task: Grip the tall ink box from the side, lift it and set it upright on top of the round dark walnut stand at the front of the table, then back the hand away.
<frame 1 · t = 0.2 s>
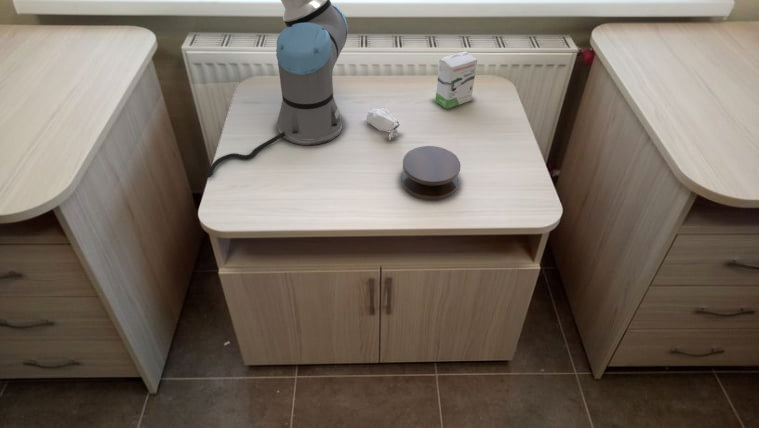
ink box: (453, 101, 140), on the table
crumpled white bag: (381, 129, 131), on the table
stand: (429, 182, 116), on the table
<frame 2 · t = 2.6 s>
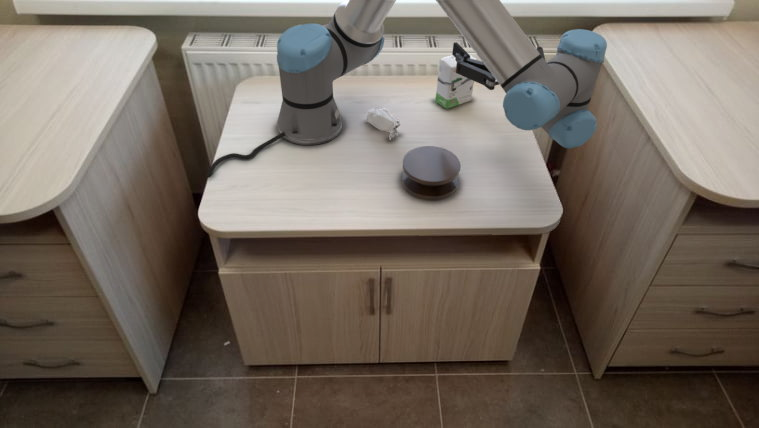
hand: (482, 43, 120), 20 cm above the table, tool horizontal, fingers open, 13 cm apart
nothing on the table moved.
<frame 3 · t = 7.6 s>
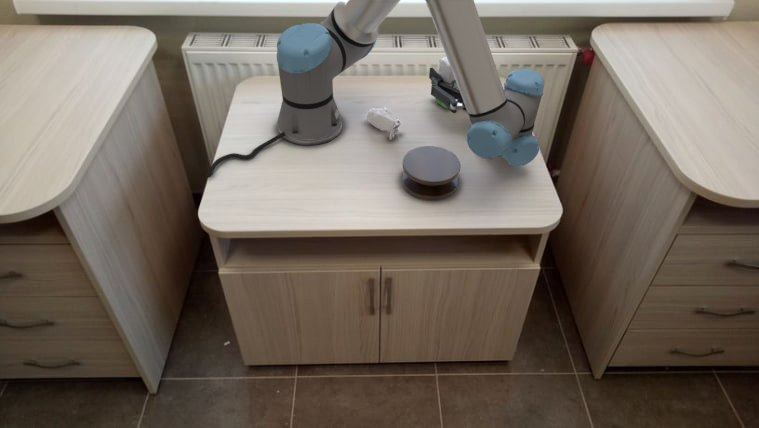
hand: (448, 69, 139), 6 cm above the table, tool horizontal, fingers closed on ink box, 9 cm apart
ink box: (453, 101, 140), on the table, touching gripper
everything else where it was.
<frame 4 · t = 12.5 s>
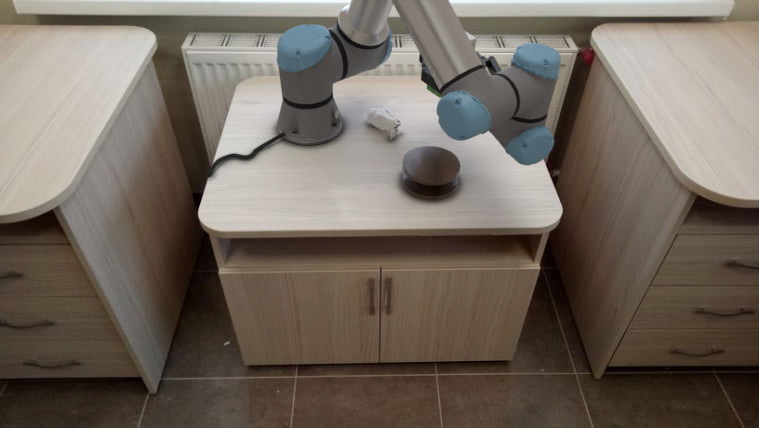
hand: (442, 51, 117), 20 cm above the table, tool horizontal, fingers closed on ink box, 9 cm apart
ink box: (447, 89, 119), point 13 cm above the table, touching gripper
everything else where it was.
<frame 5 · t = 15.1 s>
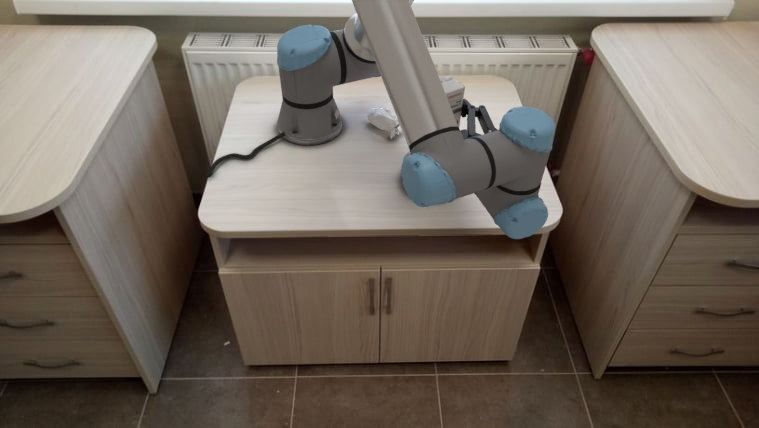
hand: (428, 98, 107), 18 cm above the table, tool horizontal, fingers closed on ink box, 9 cm apart
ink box: (434, 138, 109), point 11 cm above the table, touching gripper
everything else where it was.
when the fingers open (12 cm above the table, at t = 17.3 s): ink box stays where it is, resting on stand.
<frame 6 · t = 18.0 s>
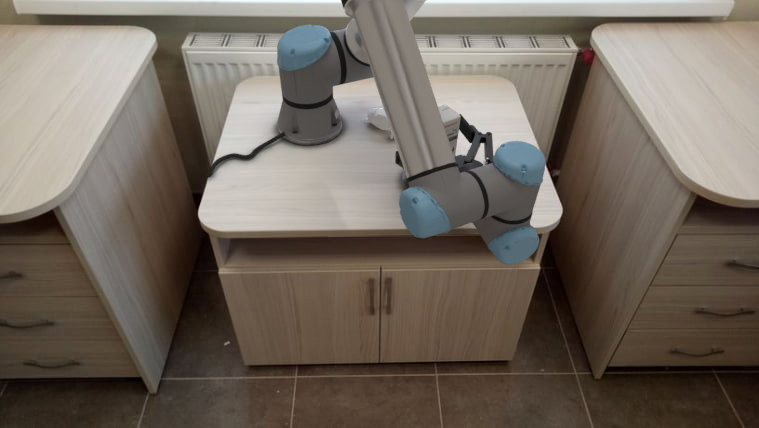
hand: (428, 125, 110), 12 cm above the table, tool horizontal, fingers open, 13 cm apart
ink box: (431, 164, 113), point 5 cm above the table, touching stand
everything else where it was.
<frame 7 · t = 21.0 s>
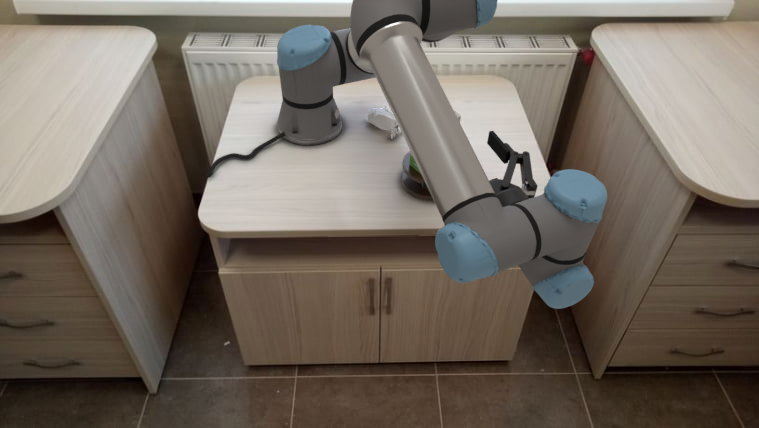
hand: (456, 143, 99), 16 cm above the table, tool horizontal, fingers open, 13 cm apart
nothing on the table moved.
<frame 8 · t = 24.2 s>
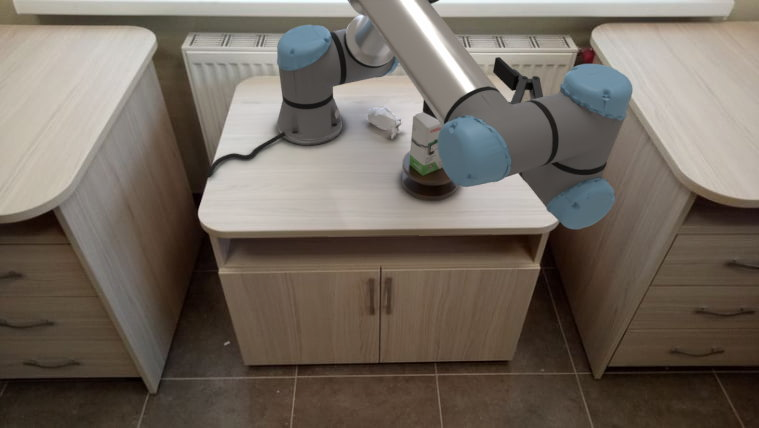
hand: (460, 70, 91), 30 cm above the table, tool horizontal, fingers open, 13 cm apart
nothing on the table moved.
at the end: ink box inside the target area on the stand (0.1 cm from its centre), point 5.0 cm above the stand's base; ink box tilted 0°; the gripper is holding nothing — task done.
